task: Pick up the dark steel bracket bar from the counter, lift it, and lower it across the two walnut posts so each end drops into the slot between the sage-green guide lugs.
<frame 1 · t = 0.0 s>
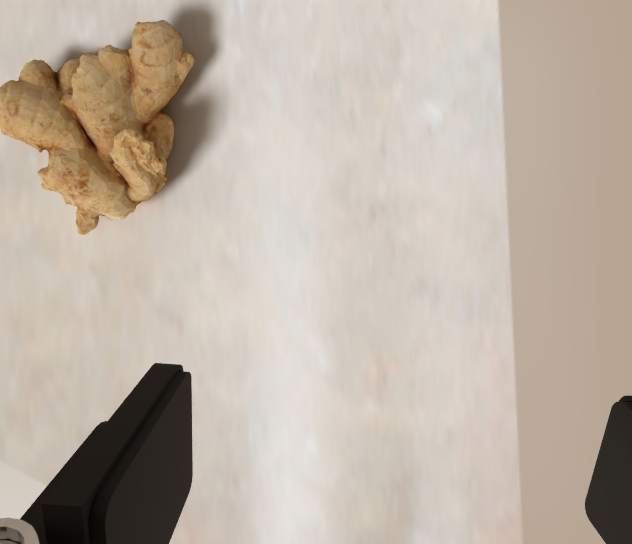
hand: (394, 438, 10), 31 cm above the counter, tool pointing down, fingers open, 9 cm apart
ginger root: (121, 136, 38), on the counter
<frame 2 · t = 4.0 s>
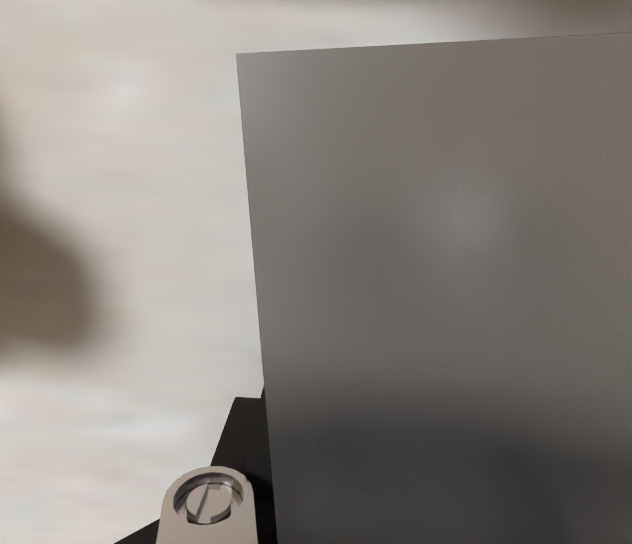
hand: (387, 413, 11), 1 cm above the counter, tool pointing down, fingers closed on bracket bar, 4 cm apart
bracket bar: (384, 397, 11), on the counter, touching gripper
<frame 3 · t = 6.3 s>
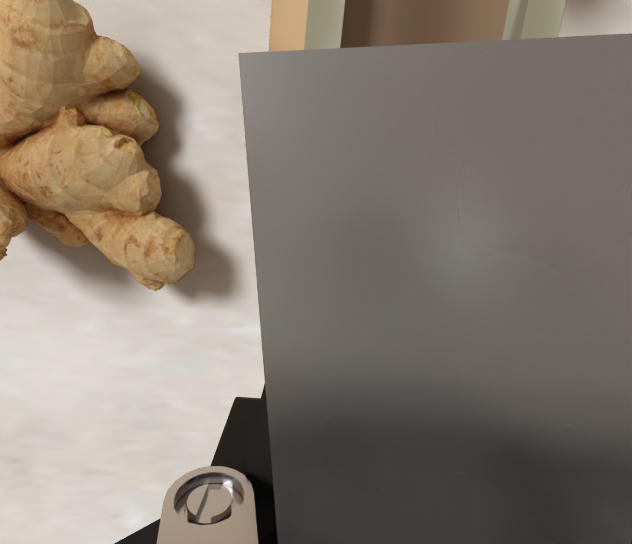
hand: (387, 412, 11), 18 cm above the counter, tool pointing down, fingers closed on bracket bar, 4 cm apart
bracket bar: (384, 397, 11), point 17 cm above the counter, touching gripper
ginger root: (73, 153, 27), on the counter
when the fingers open (9 cm above the counter, at t = 9.0 s): bracket bar drops 1 cm, resting on post rig.
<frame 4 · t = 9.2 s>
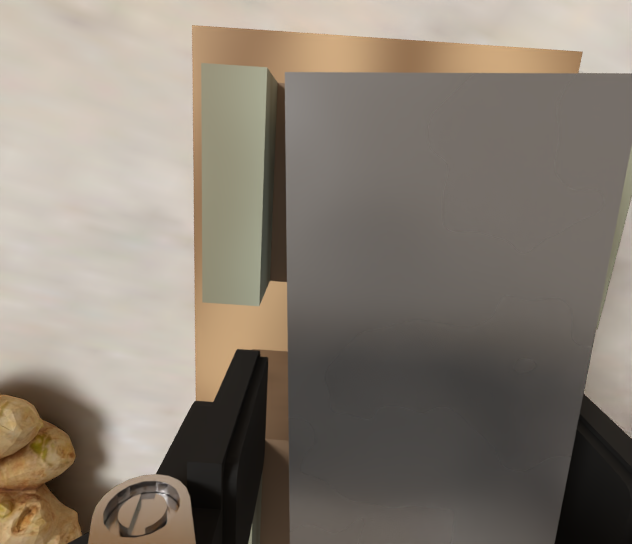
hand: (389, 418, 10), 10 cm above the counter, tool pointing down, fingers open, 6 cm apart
bracket bar: (376, 373, 13), point 8 cm above the counter, touching post rig
post rig: (358, 290, 20), on the counter
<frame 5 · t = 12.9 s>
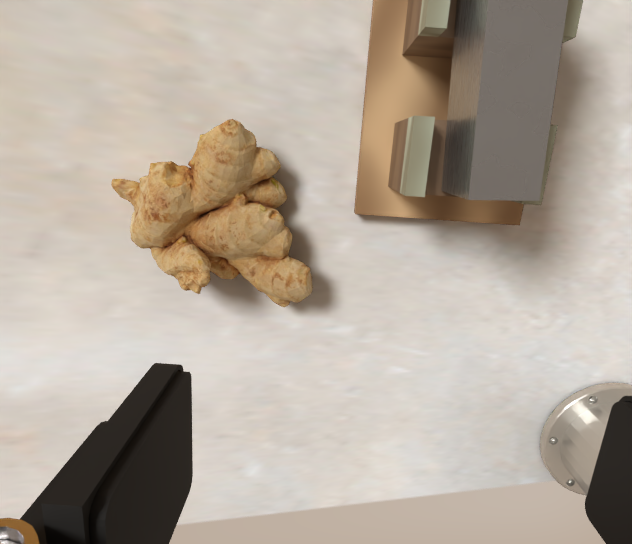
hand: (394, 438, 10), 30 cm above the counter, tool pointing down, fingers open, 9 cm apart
bracket bar: (480, 82, 29), point 7 cm above the counter, touching post rig
post rig: (450, 96, 36), on the counter
ginger root: (221, 215, 39), on the counter
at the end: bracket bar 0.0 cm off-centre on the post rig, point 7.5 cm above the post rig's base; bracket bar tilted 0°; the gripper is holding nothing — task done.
